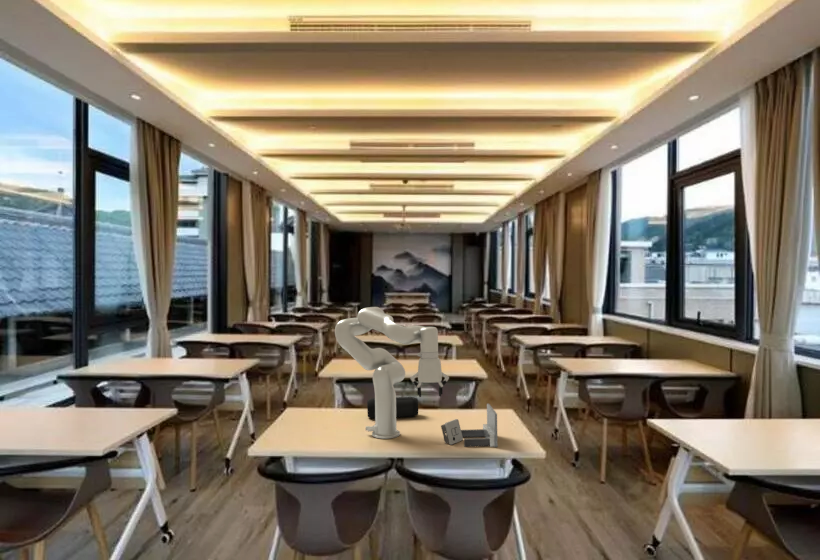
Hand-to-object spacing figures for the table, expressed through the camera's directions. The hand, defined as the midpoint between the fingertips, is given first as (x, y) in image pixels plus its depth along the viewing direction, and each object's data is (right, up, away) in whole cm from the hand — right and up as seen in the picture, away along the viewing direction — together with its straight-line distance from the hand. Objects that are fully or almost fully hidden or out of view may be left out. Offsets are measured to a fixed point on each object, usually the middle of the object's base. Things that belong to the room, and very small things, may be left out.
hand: (430, 395), depth 243 cm
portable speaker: (-17, -20, +44) cm, 52 cm away
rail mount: (+20, -20, +1) cm, 28 cm away
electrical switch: (+9, -20, 0) cm, 22 cm away
